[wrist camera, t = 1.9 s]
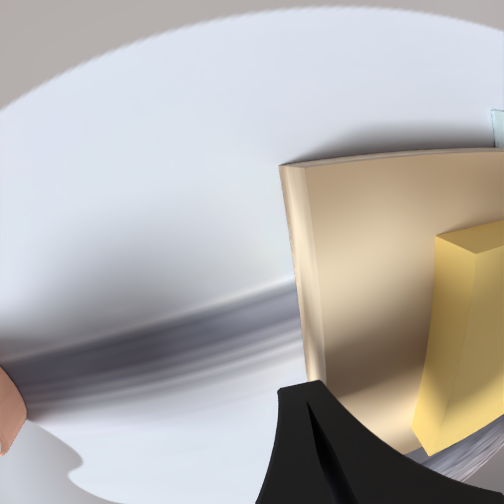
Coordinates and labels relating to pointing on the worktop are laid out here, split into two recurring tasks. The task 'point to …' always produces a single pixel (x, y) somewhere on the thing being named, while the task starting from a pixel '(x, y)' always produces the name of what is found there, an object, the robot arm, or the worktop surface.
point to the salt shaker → (10, 412)
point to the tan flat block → (379, 267)
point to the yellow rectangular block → (463, 338)
